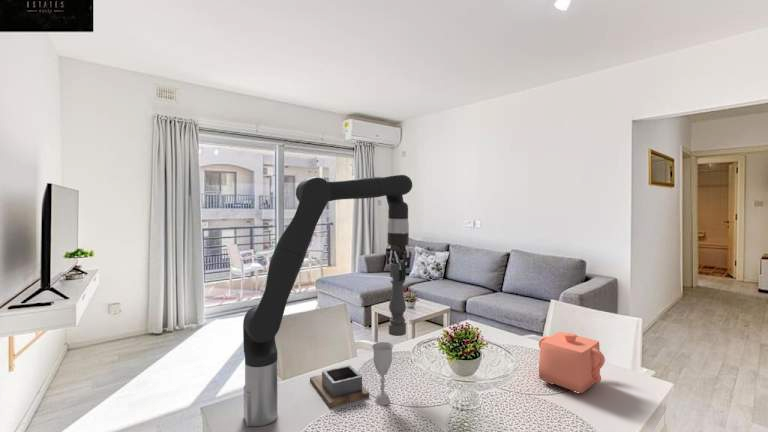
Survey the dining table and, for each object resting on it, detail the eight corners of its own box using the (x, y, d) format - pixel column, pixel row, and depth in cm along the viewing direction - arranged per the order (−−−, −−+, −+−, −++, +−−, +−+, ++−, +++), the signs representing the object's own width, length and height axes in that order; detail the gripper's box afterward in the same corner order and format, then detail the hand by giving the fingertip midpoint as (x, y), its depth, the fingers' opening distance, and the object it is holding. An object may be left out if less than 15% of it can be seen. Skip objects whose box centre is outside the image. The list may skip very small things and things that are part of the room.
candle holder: (404, 336, 131) (405, 265, 131) (387, 335, 133) (387, 264, 132) (407, 330, 137) (407, 262, 137) (390, 329, 139) (390, 261, 138)
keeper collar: (332, 398, 121) (332, 383, 121) (321, 385, 131) (322, 370, 130) (362, 391, 126) (362, 376, 126) (349, 378, 136) (349, 365, 135)
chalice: (380, 393, 128) (380, 340, 128) (397, 399, 124) (397, 345, 124) (367, 402, 122) (367, 347, 122) (384, 408, 118) (384, 352, 118)
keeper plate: (329, 407, 119) (329, 402, 119) (309, 381, 137) (309, 377, 136) (369, 396, 126) (369, 392, 126) (345, 373, 143) (345, 369, 143)
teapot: (556, 361, 156) (557, 318, 156) (618, 380, 139) (619, 332, 139) (527, 379, 139) (528, 331, 139) (594, 403, 123) (595, 349, 122)
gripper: (379, 230, 139) (378, 276, 139) (399, 233, 126) (399, 283, 126) (396, 230, 142) (396, 274, 143) (418, 232, 130) (417, 281, 130)
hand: (397, 278), depth 134 cm, fingers closed on candle holder, 5 cm apart
